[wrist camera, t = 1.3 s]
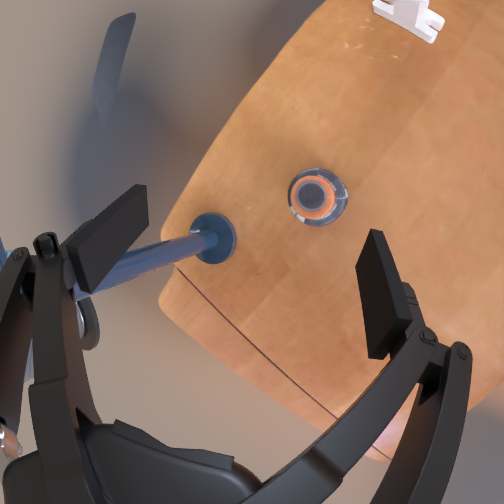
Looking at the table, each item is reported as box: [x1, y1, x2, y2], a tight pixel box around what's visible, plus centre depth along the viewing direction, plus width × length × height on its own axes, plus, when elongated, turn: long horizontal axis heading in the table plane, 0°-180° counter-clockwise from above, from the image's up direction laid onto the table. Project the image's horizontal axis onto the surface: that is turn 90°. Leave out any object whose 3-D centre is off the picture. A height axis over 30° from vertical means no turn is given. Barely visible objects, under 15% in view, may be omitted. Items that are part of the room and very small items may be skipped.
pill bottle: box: [288, 168, 348, 226], centre depth 30 cm, size 6×6×11 cm
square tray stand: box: [0, 213, 236, 382], centre depth 26 cm, size 8×8×36 cm
